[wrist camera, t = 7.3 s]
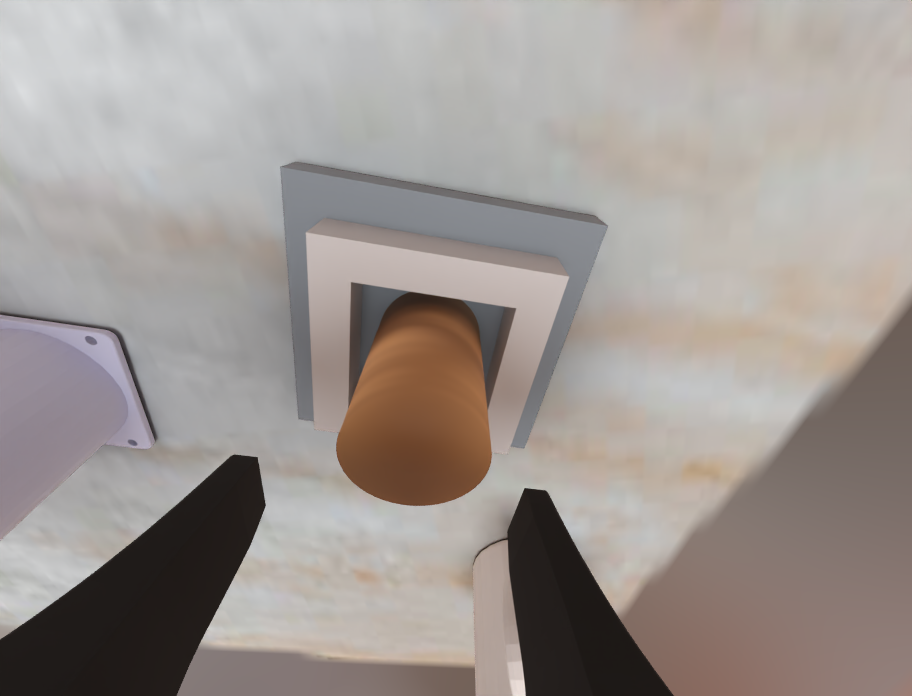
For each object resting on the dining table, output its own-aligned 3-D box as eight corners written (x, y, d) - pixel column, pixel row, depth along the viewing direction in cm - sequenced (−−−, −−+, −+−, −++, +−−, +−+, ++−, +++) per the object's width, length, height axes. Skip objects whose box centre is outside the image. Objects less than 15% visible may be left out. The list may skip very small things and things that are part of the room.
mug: (579, 583, 31) (627, 775, 22) (485, 594, 32) (494, 781, 23) (562, 490, 25) (619, 704, 16) (445, 508, 26) (437, 717, 17)
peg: (379, 371, 18) (339, 499, 12) (380, 283, 15) (331, 388, 10) (472, 379, 18) (479, 510, 12) (486, 295, 16) (504, 404, 10)
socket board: (308, 400, 21) (283, 448, 18) (296, 162, 14) (253, 175, 12) (520, 428, 22) (530, 478, 19) (596, 216, 15) (627, 241, 12)
